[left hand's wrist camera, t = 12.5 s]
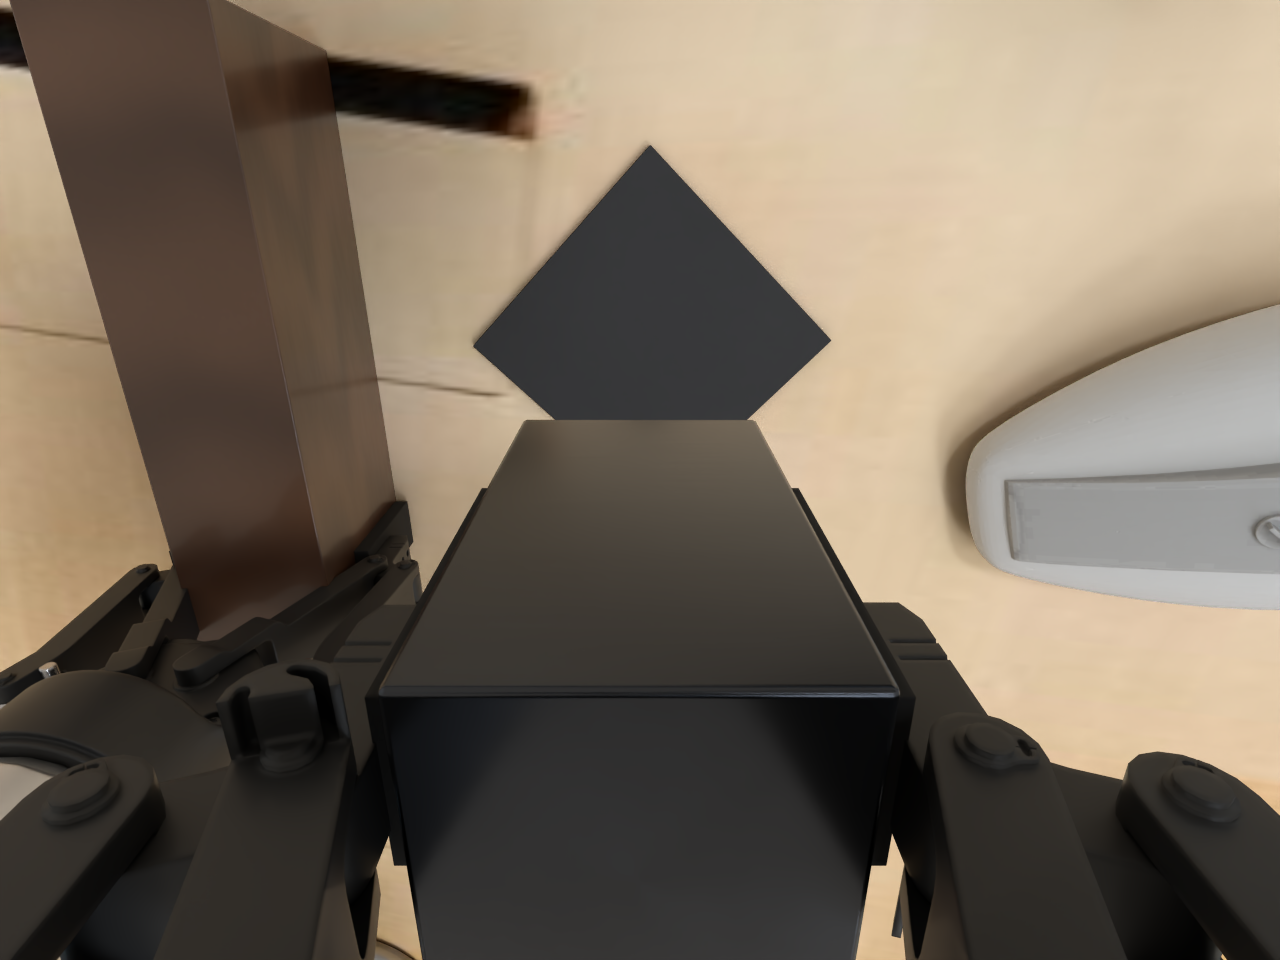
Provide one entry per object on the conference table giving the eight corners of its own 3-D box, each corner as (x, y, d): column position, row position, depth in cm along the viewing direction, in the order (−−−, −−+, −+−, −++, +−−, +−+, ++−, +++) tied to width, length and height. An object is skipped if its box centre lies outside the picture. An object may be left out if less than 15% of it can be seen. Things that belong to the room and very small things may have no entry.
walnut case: (182, 52, 34) (6, -8, 24) (326, 50, 34) (205, -11, 24) (301, 593, 44) (211, 695, 35) (410, 592, 44) (349, 693, 35)
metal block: (523, 418, 15) (373, 691, 7) (756, 418, 15) (905, 691, 7) (535, 618, 17) (431, 1031, 8) (743, 618, 17) (846, 1031, 8)
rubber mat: (650, 145, 35) (650, 144, 35) (829, 339, 39) (831, 340, 38) (474, 344, 39) (472, 346, 38) (653, 505, 42) (653, 507, 42)
